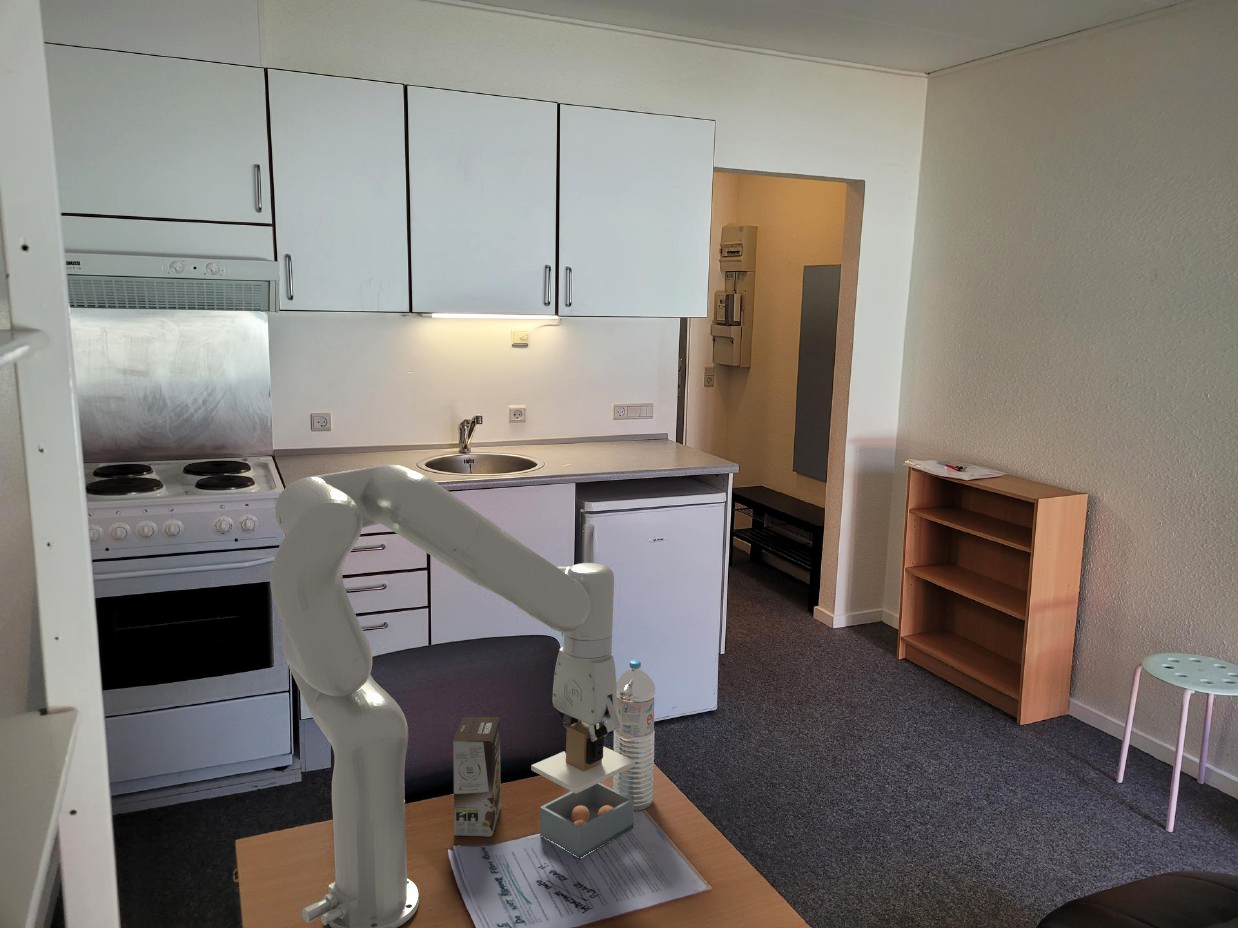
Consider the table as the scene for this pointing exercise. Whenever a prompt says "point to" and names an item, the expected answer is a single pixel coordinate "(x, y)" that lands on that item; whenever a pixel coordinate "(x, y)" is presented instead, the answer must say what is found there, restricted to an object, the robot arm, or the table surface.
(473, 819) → the coffee box
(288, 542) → the robot arm
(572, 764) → the lid
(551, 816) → the box
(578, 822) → the ball
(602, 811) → the ball
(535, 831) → the table surface
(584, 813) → the ball
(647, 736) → the water bottle
